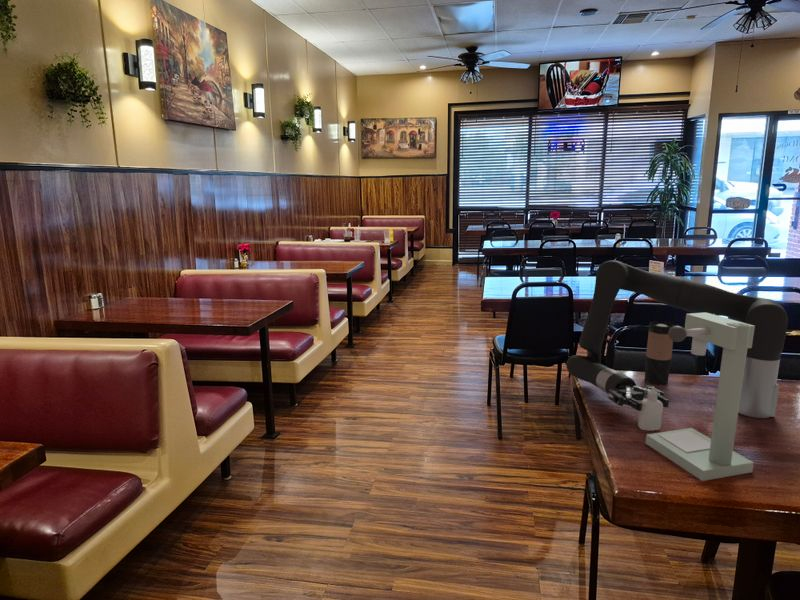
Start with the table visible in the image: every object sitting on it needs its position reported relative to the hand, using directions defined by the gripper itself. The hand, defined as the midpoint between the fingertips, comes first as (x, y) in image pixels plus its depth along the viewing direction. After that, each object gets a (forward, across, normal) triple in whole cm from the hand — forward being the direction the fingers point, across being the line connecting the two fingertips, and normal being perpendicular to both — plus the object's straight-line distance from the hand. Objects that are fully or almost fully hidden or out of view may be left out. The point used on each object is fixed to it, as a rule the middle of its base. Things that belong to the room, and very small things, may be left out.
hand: (654, 405), depth 137 cm
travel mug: (-30, +27, +7) cm, 42 cm away
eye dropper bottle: (-1, 0, +7) cm, 7 cm away
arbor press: (+15, -3, +7) cm, 17 cm away
